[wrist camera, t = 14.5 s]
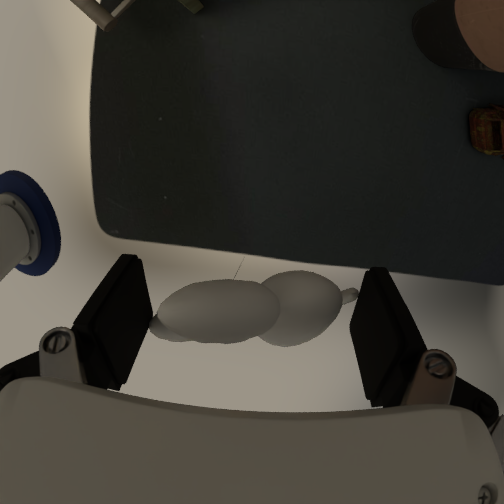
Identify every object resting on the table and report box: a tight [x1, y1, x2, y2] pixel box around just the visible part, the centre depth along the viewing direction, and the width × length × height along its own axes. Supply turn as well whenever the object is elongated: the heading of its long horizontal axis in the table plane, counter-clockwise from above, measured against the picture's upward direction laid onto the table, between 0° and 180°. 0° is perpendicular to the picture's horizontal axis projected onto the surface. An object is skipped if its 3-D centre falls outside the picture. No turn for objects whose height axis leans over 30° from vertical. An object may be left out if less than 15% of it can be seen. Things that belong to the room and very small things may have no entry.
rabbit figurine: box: [149, 271, 359, 347], centre depth 11 cm, size 6×4×8 cm
